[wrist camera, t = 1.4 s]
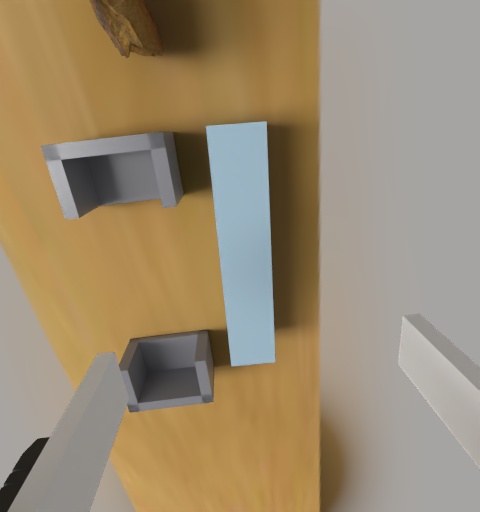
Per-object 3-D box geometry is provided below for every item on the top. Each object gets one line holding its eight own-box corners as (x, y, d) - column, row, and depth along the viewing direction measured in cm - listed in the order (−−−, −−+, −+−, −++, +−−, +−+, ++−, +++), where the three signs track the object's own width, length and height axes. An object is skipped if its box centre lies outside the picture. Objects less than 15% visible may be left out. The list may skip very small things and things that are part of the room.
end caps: (72, 143, 24) (40, 145, 20) (172, 132, 24) (162, 131, 20) (141, 376, 33) (129, 412, 29) (214, 367, 33) (213, 402, 29)
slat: (208, 127, 25) (205, 126, 20) (258, 123, 25) (266, 121, 20) (229, 332, 32) (231, 366, 27) (267, 329, 32) (275, 362, 27)
